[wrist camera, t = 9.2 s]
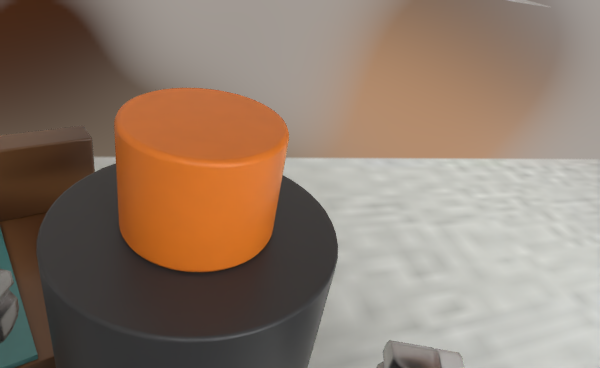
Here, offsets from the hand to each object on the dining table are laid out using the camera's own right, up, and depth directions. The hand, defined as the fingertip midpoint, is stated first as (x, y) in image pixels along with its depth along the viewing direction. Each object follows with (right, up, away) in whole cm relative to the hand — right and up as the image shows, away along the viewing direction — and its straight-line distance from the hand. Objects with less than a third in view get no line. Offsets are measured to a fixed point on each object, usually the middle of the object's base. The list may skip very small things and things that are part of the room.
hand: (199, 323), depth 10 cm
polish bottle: (-1, -6, +3) cm, 7 cm away
